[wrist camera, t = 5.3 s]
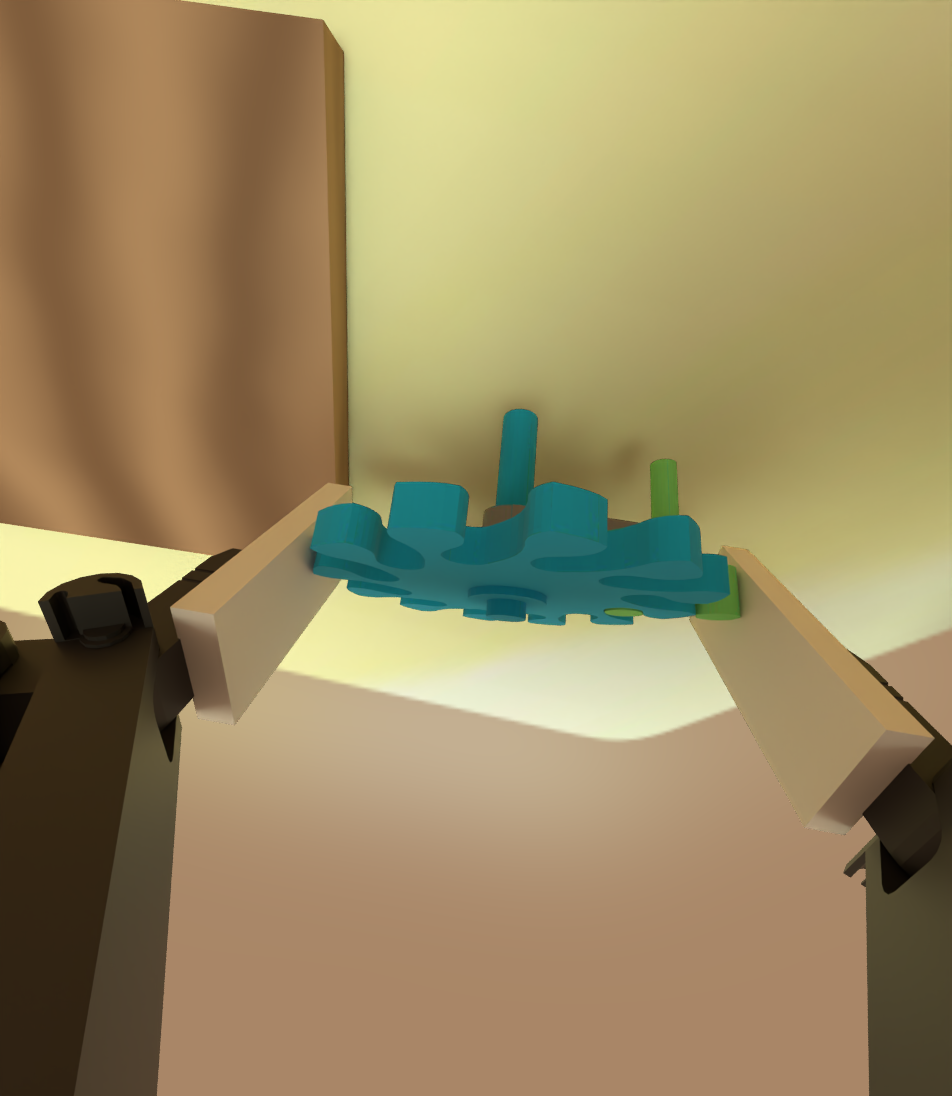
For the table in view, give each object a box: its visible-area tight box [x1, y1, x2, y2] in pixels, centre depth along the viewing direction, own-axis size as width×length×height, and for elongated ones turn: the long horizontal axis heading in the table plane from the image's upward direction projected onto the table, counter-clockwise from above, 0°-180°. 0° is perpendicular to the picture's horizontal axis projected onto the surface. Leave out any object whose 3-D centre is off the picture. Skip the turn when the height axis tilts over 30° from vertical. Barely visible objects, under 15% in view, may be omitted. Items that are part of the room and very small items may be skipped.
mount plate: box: [0, 0, 349, 555], centre depth 16 cm, size 18×17×2 cm
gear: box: [310, 409, 740, 625], centre depth 12 cm, size 11×6×10 cm
